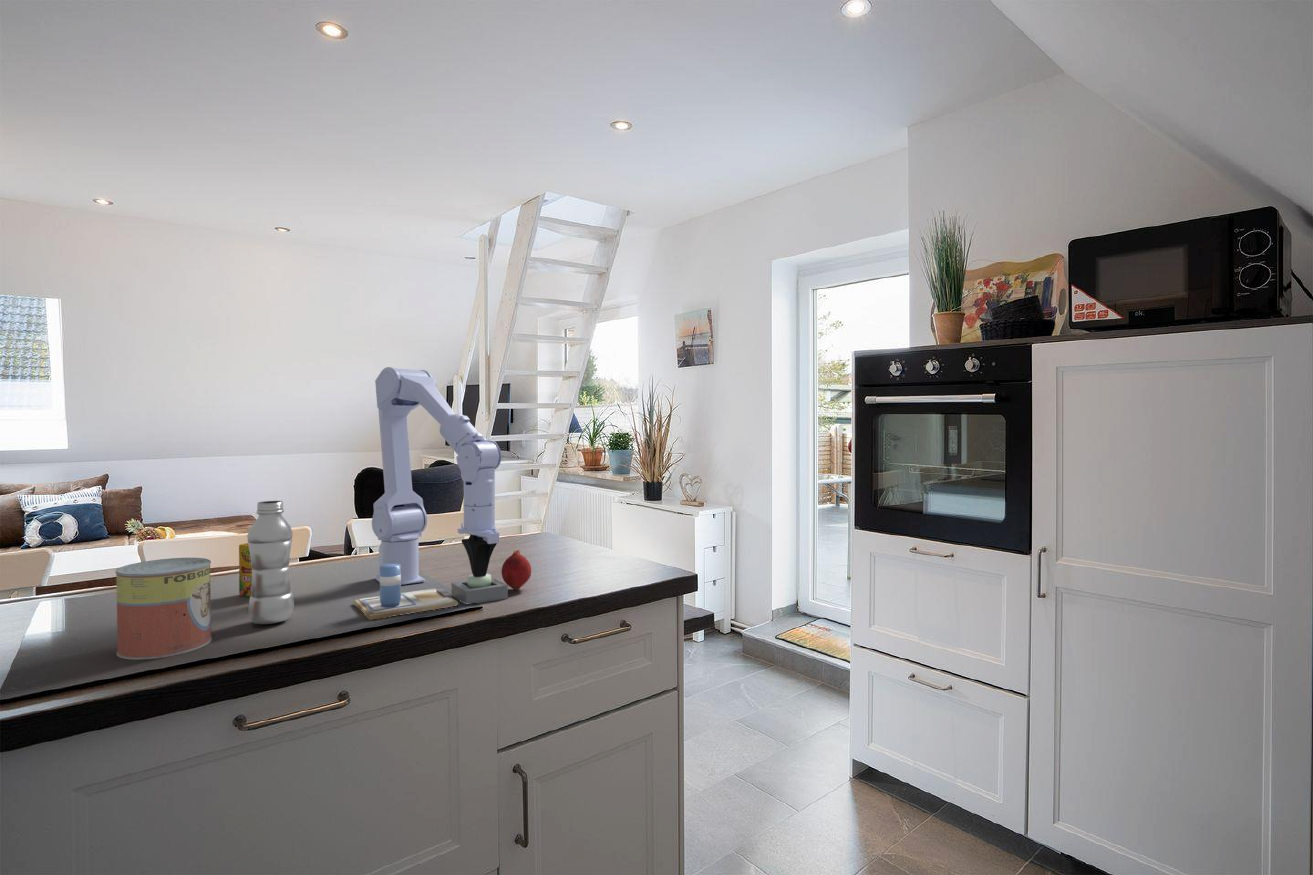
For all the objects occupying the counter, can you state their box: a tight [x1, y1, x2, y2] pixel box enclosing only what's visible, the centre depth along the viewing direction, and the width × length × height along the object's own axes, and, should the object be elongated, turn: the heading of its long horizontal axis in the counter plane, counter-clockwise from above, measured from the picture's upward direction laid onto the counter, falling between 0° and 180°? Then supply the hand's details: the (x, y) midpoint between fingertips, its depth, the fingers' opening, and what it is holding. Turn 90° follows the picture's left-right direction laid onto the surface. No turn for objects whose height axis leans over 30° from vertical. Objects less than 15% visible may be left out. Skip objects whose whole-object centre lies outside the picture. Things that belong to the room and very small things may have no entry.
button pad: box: [450, 576, 509, 604], centre depth 126 cm, size 8×8×2 cm
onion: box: [500, 549, 532, 591], centre depth 132 cm, size 6×6×8 cm
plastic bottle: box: [246, 500, 295, 625], centre depth 109 cm, size 6×7×20 cm
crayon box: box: [238, 542, 252, 598], centre depth 126 cm, size 7×3×12 cm, turn 68°
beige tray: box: [353, 587, 459, 621], centre depth 120 cm, size 12×15×1 cm
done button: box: [466, 573, 492, 589], centre depth 126 cm, size 4×4×2 cm
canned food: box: [115, 557, 213, 661], centre depth 98 cm, size 11×11×12 cm
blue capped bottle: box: [379, 564, 402, 608], centre depth 117 cm, size 3×3×7 cm
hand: (479, 575), depth 126 cm, fingers closed
